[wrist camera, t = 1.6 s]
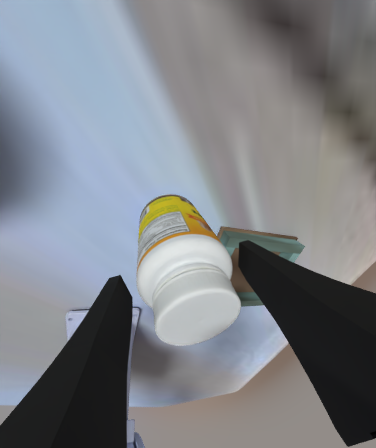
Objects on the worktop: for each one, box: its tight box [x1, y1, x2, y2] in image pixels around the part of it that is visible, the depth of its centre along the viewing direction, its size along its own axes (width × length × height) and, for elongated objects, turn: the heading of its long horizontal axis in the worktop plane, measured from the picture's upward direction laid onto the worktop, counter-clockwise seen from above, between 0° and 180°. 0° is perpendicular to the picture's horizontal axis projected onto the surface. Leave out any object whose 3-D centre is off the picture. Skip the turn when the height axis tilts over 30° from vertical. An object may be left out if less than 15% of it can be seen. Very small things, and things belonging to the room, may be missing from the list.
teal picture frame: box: [217, 226, 305, 307], centre depth 21 cm, size 12×12×2 cm
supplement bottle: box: [137, 194, 241, 346], centre depth 11 cm, size 6×6×10 cm
